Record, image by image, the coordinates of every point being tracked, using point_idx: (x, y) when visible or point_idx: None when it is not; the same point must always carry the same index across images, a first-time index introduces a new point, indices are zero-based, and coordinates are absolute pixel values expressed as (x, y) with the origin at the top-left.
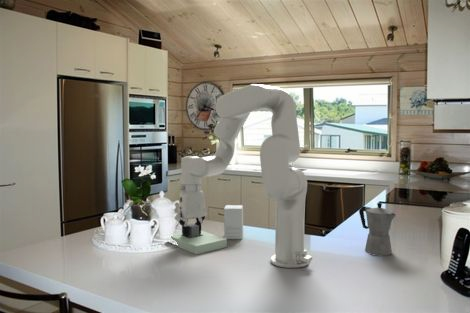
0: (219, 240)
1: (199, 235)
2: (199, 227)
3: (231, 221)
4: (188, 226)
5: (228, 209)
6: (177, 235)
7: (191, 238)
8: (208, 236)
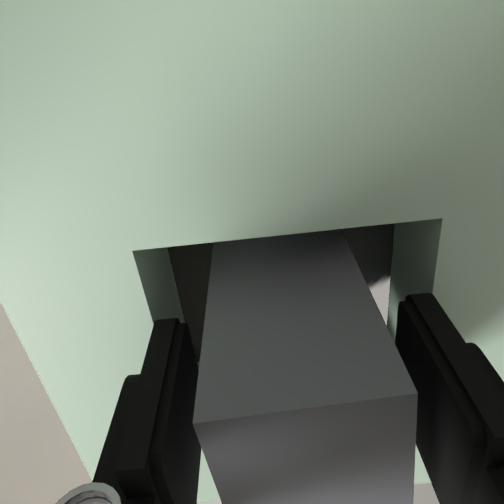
0: None
1: None
2: (166, 404)
3: None
4: (412, 465)
5: None
6: None
7: (407, 201)
8: (82, 150)
